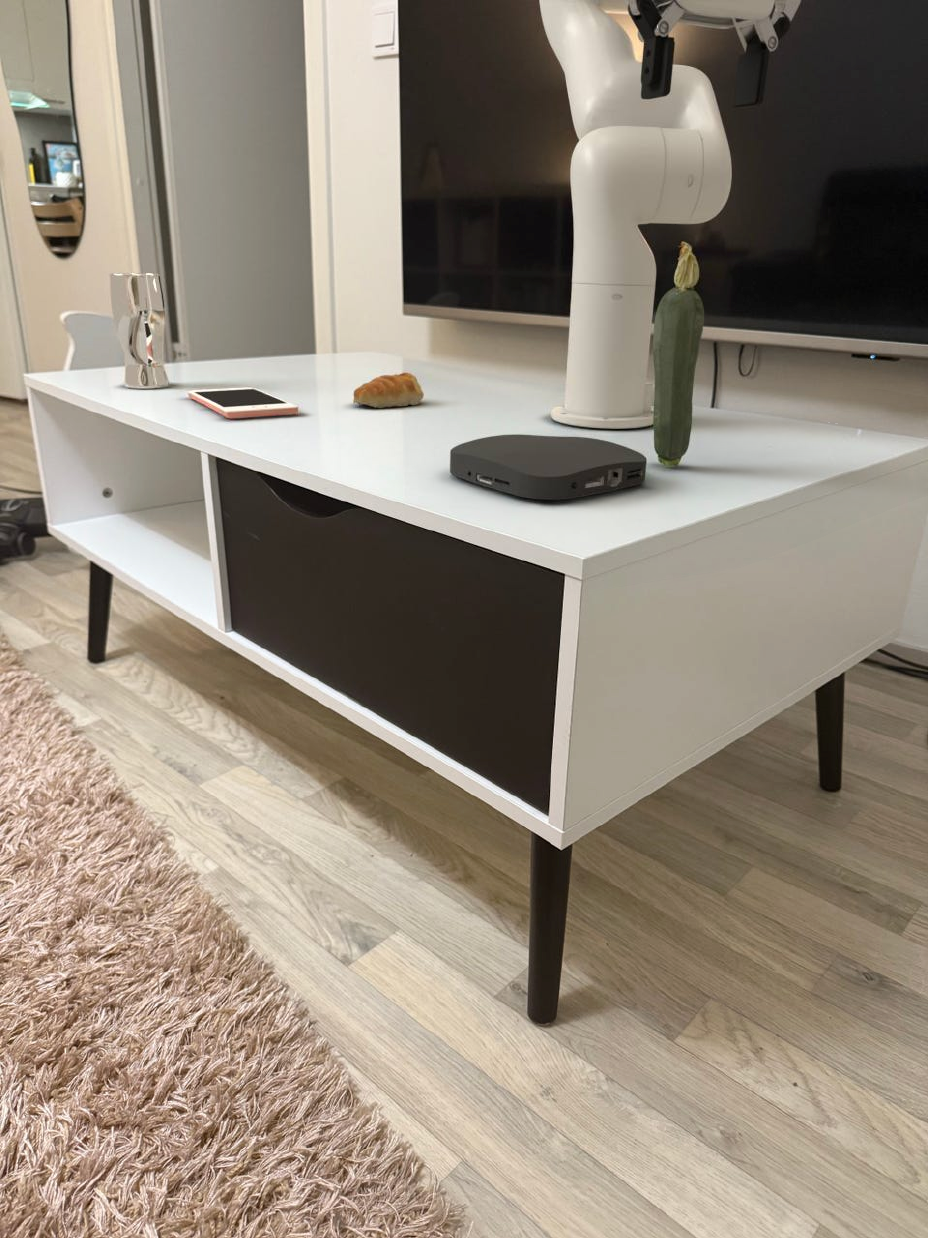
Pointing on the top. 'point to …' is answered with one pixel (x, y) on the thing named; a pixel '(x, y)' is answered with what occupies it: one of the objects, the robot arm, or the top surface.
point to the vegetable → (676, 360)
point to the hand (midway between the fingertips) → (702, 101)
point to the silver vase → (140, 327)
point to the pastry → (390, 391)
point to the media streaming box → (547, 465)
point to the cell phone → (243, 402)
